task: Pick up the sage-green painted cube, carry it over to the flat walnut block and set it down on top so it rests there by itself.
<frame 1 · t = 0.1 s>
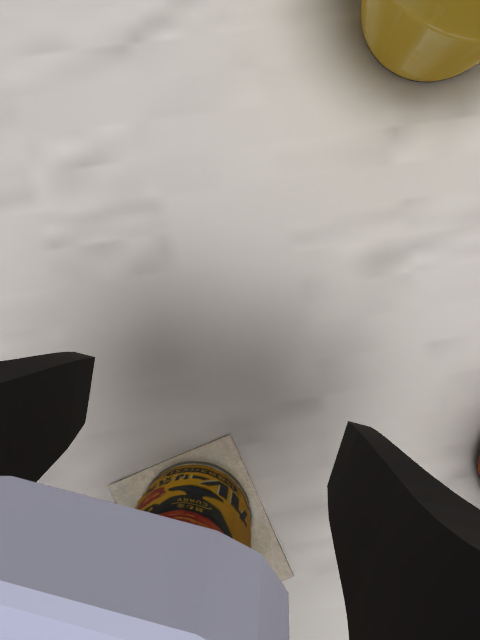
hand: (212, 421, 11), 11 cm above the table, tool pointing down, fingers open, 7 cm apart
plant pot: (425, 17, 21), on the table
condiment: (201, 526, 23), on the table
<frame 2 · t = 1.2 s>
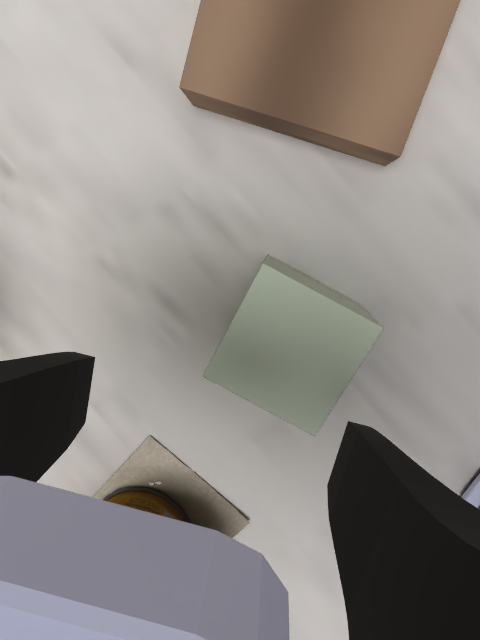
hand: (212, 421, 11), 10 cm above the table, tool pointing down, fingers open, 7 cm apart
sage cube: (288, 323, 21), on the table
condiment: (155, 520, 24), on the table
walnut block: (322, 30, 18), on the table
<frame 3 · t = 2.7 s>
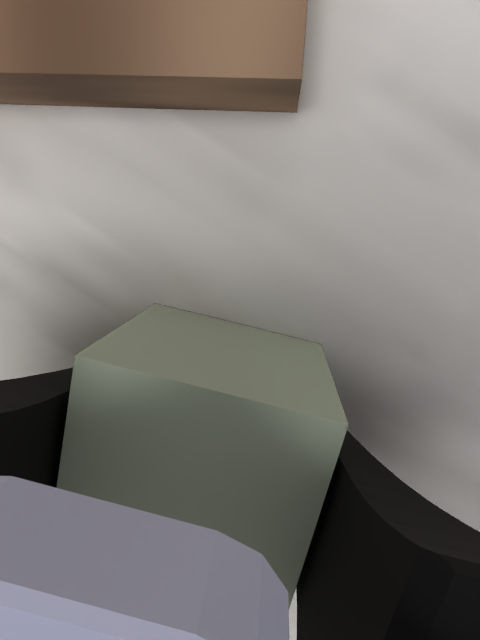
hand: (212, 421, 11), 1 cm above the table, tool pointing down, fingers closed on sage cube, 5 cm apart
sage cube: (219, 400, 13), on the table, touching gripper
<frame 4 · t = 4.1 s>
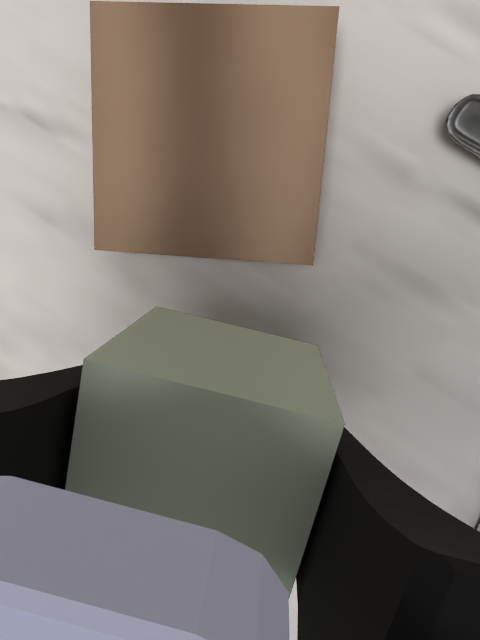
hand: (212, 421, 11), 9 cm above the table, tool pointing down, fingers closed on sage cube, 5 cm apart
sage cube: (219, 400, 13), point 7 cm above the table, touching gripper
walnut block: (217, 151, 19), on the table
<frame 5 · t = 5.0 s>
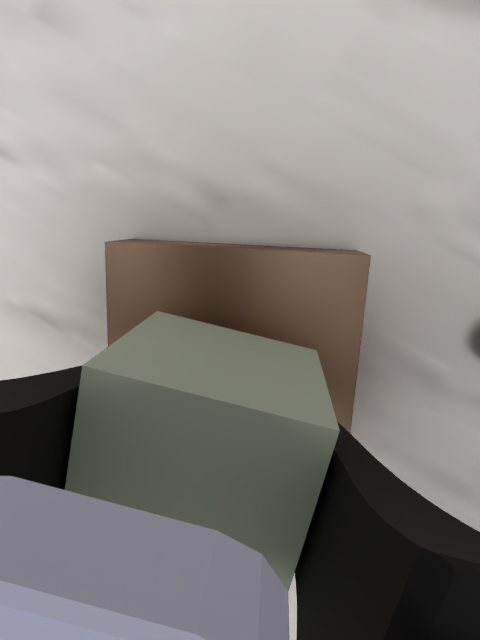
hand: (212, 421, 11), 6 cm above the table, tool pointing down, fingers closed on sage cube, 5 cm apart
sage cube: (219, 404, 13), point 4 cm above the table, touching gripper
walnut block: (237, 349, 18), on the table
when the fingers open (6 cm above the table, at t = 5.6 s): sage cube drops 2 cm, resting on walnut block.
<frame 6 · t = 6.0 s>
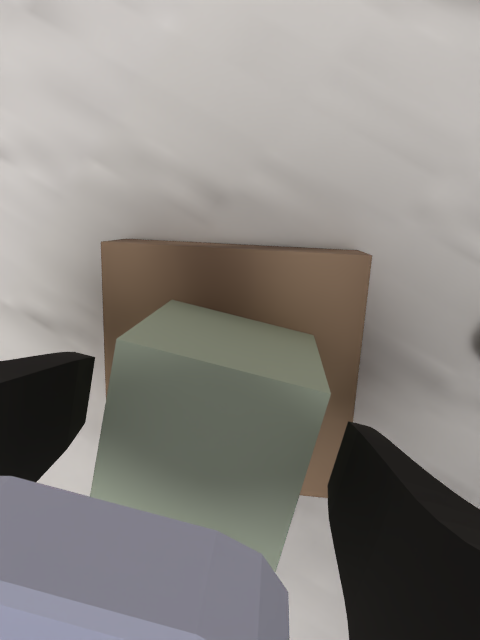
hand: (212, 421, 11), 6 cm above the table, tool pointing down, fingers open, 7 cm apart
sage cube: (226, 383, 15), point 2 cm above the table, touching walnut block
walnut block: (236, 351, 18), on the table, touching sage cube
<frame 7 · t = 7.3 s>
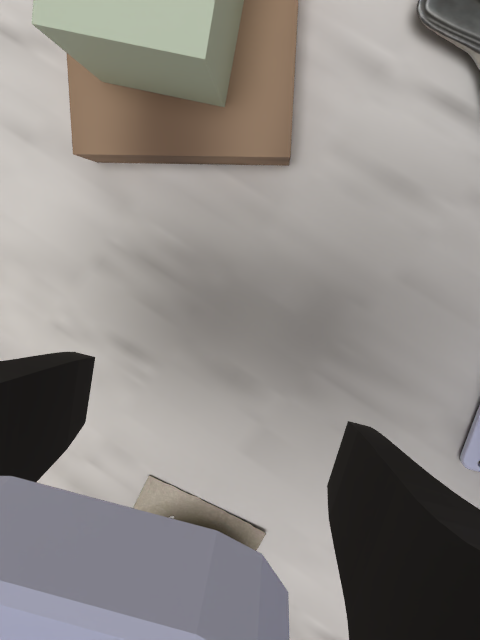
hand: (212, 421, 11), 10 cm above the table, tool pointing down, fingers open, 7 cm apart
sage cube: (173, 23, 16), point 2 cm above the table, touching walnut block
condiment: (179, 553, 25), on the table
walnut block: (193, 60, 19), on the table, touching sage cube
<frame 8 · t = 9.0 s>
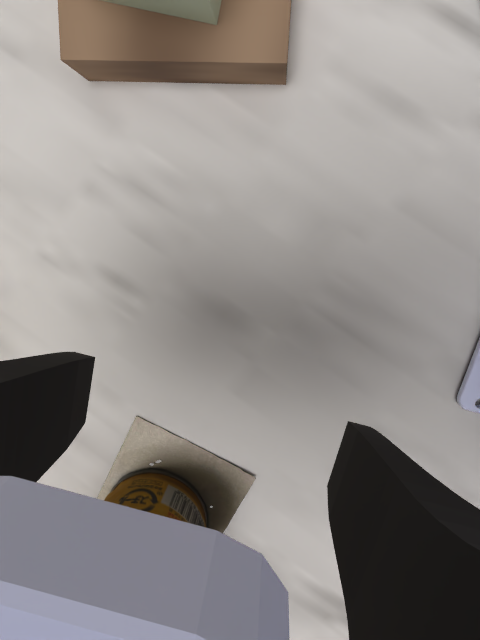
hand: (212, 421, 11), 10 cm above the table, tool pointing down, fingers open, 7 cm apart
condiment: (166, 500, 24), on the table
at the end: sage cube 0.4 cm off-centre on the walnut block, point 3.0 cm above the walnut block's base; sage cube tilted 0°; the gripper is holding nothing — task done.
